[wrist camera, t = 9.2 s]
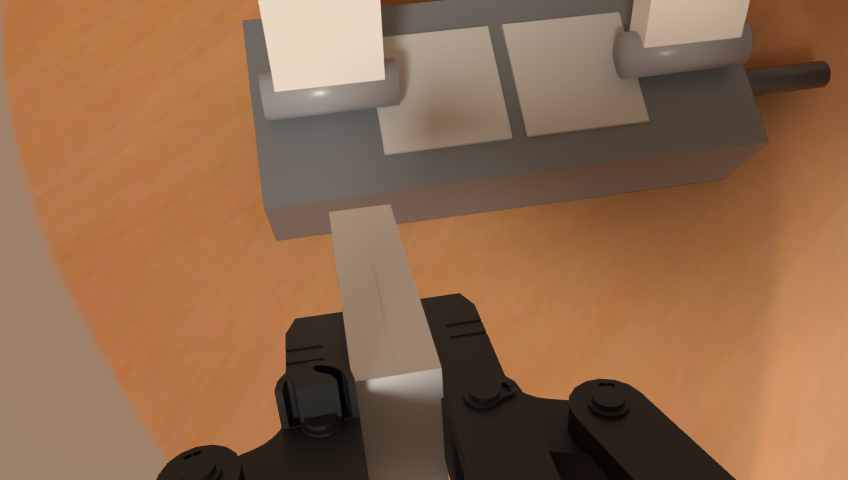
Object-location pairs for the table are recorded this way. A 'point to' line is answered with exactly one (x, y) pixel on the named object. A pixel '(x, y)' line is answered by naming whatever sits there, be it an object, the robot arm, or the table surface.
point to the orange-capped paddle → (325, 58)
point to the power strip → (508, 118)
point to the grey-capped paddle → (683, 37)
